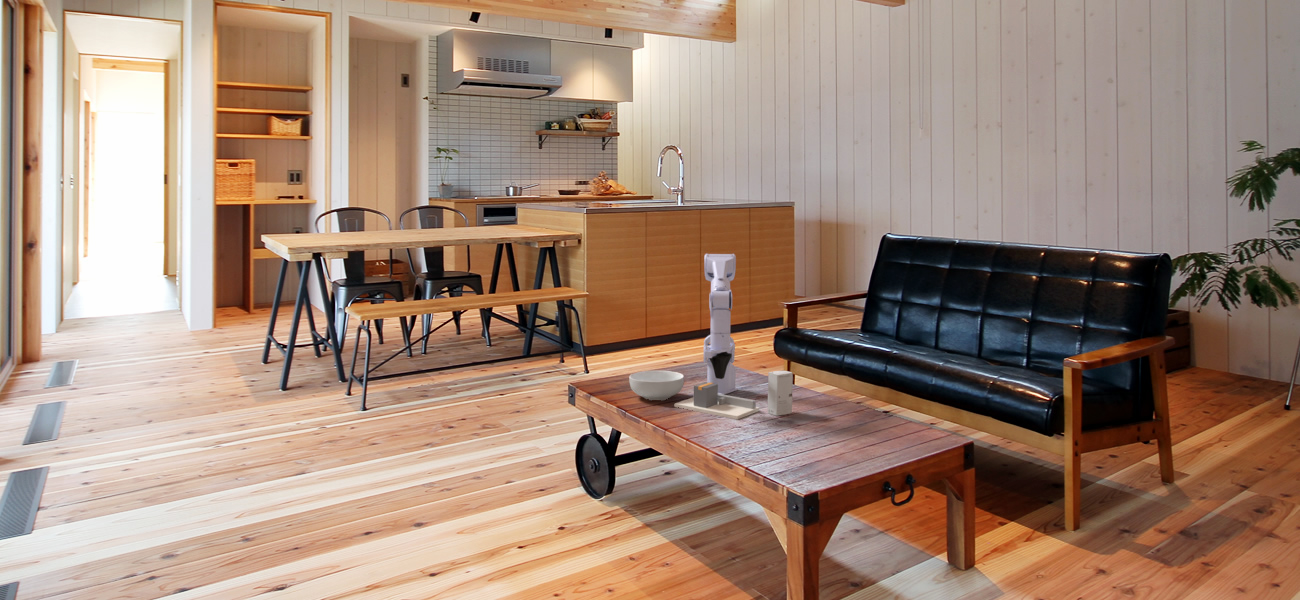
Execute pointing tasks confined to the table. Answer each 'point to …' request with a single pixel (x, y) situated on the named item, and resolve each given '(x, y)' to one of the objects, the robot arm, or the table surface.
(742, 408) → the rail base
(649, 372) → the cereal bowl
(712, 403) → the block
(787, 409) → the skincare box
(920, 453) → the table surface
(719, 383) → the robot arm
